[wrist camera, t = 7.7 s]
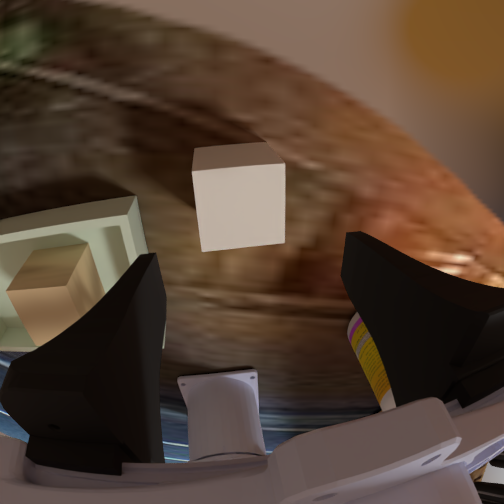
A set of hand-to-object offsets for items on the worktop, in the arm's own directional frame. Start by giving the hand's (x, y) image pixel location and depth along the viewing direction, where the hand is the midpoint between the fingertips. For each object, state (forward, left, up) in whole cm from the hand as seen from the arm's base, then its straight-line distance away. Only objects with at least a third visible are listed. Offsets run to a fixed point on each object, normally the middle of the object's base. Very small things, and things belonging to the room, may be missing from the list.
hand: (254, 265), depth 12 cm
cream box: (0, 0, -10) cm, 10 cm away
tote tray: (-6, +15, -10) cm, 19 cm away
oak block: (-6, +13, -9) cm, 17 cm away
